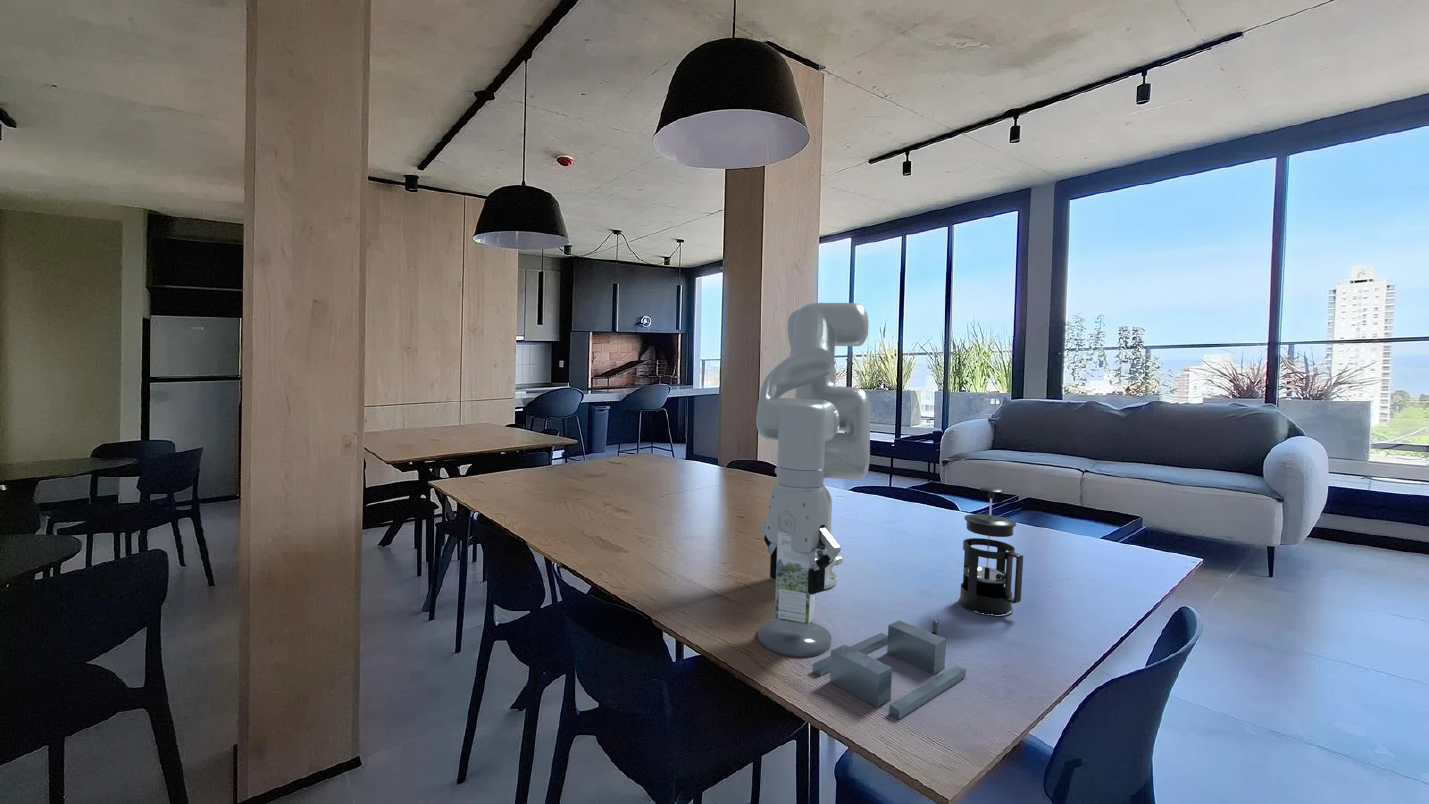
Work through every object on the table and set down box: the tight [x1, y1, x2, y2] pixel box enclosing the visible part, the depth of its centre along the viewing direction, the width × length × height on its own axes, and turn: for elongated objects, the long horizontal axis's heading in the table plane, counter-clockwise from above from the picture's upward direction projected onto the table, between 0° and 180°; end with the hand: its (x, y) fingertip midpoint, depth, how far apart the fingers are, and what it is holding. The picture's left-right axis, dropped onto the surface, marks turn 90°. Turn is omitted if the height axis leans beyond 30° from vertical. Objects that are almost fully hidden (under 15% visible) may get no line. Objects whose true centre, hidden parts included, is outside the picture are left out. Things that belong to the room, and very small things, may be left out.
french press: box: [958, 486, 1024, 615], centre depth 110 cm, size 12×9×23 cm
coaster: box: [757, 619, 832, 658], centre depth 95 cm, size 12×12×1 cm
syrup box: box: [774, 531, 817, 625], centre depth 94 cm, size 6×6×14 cm
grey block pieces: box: [812, 619, 967, 720], centre depth 86 cm, size 21×14×5 cm
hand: (796, 583), depth 95 cm, fingers closed on syrup box, 7 cm apart
